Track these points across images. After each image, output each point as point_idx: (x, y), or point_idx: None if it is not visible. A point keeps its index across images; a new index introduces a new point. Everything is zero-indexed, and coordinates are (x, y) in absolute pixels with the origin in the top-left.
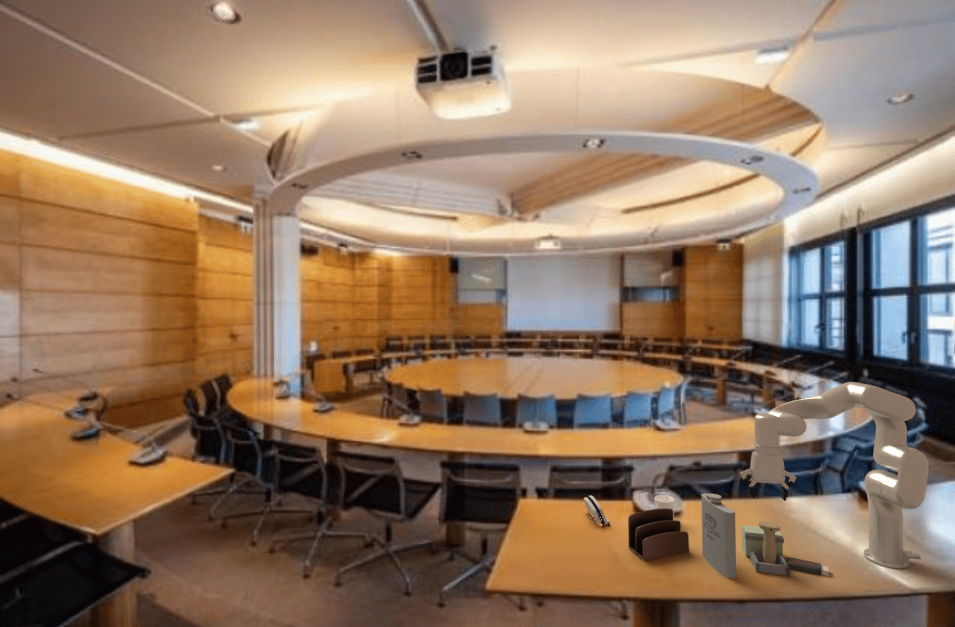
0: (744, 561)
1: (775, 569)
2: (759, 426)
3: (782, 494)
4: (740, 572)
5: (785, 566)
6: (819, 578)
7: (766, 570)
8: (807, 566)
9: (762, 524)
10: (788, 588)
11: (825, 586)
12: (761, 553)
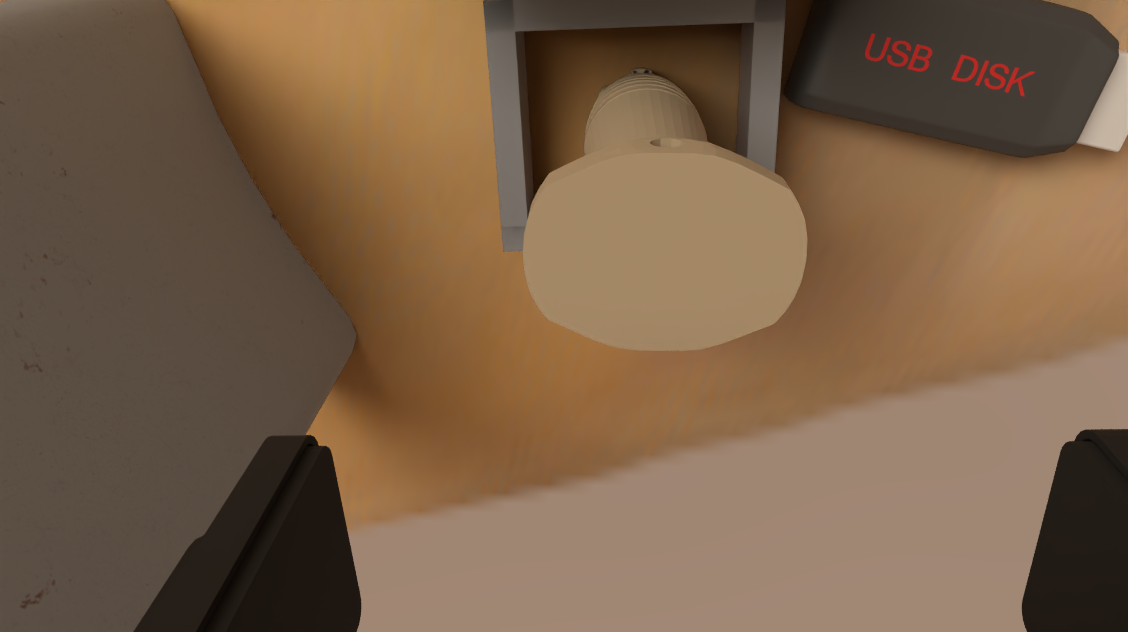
0: (439, 59)
1: None
2: None
3: (1103, 629)
4: (390, 263)
5: None
6: (990, 201)
7: None
8: (958, 132)
9: (563, 282)
10: (687, 398)
11: (971, 312)
12: (590, 28)
